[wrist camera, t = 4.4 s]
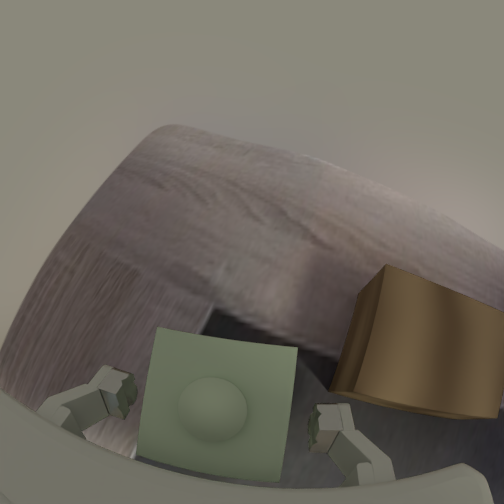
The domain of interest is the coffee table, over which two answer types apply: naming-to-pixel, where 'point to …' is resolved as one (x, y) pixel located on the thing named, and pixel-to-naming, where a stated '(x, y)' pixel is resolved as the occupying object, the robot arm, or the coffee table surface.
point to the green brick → (217, 405)
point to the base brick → (422, 349)
